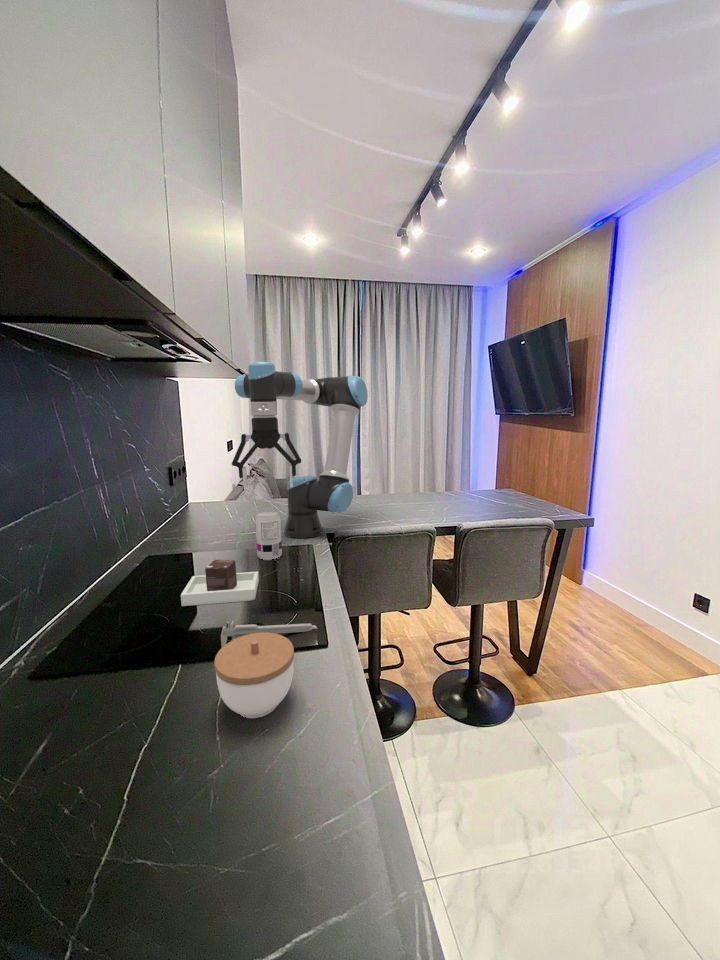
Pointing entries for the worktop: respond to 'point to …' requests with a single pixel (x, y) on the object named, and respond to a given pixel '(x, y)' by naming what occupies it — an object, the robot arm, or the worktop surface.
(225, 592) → the tray
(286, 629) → the caliper
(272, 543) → the supplement can
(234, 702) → the lidded bowl
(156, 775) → the worktop surface
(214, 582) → the box
